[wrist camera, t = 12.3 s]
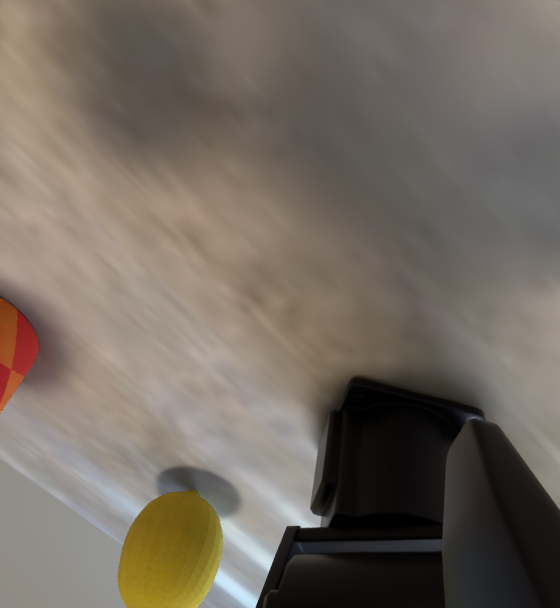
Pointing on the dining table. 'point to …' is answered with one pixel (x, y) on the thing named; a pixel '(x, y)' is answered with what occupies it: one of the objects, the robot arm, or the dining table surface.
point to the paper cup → (14, 350)
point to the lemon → (171, 553)
